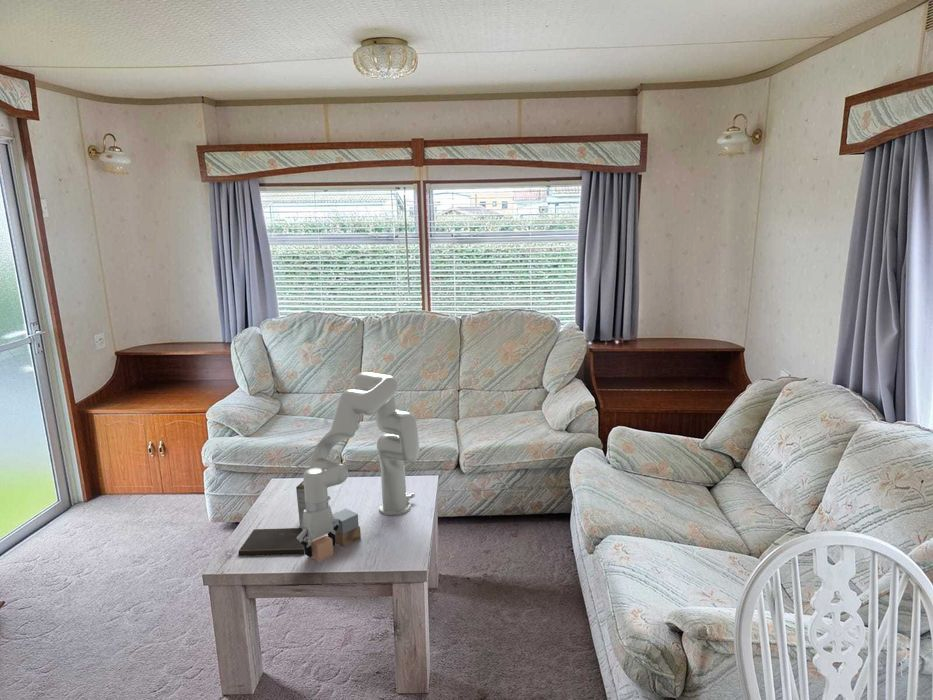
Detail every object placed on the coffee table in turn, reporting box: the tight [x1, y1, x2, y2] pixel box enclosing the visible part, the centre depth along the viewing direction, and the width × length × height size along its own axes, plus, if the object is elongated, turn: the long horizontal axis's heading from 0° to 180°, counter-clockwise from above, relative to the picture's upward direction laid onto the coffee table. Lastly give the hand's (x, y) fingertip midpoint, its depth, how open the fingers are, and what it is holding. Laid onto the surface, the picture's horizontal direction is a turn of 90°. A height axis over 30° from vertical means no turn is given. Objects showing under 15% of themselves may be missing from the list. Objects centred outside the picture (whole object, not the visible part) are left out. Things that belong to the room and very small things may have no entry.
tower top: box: [332, 508, 360, 534], centre depth 215 cm, size 7×7×5 cm
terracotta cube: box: [310, 534, 334, 563], centre depth 206 cm, size 6×6×6 cm
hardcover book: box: [237, 527, 309, 557], centre depth 215 cm, size 16×23×2 cm
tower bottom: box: [335, 525, 362, 548], centre depth 216 cm, size 8×8×5 cm
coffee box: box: [295, 480, 306, 527], centre depth 230 cm, size 9×6×16 cm
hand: (320, 550), depth 206 cm, fingers open, 9 cm apart
